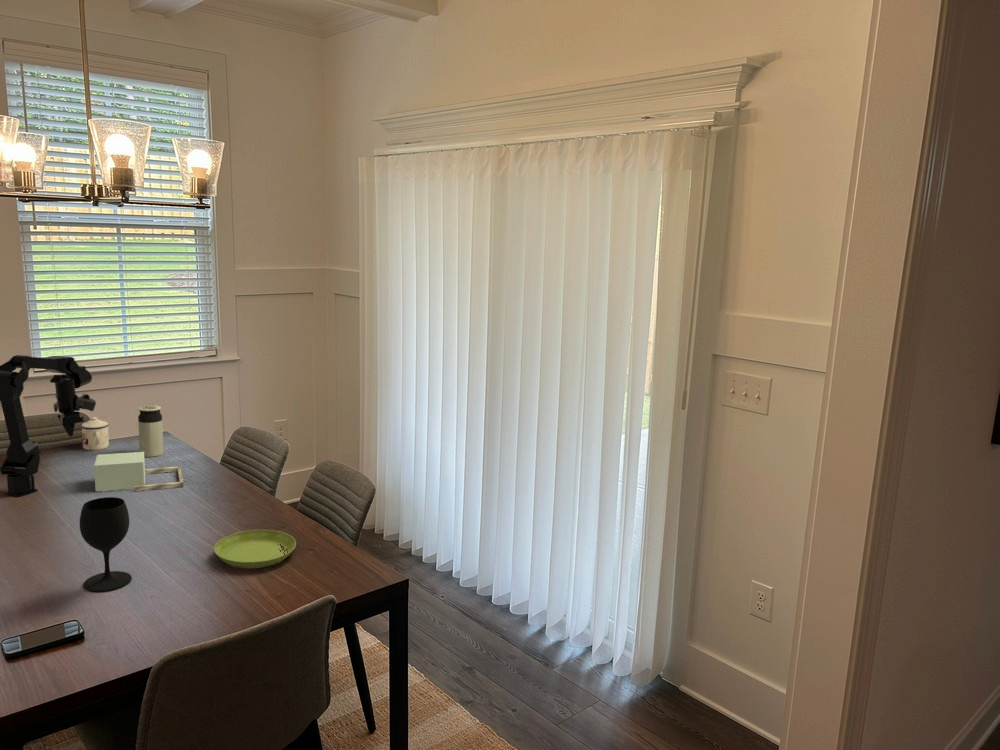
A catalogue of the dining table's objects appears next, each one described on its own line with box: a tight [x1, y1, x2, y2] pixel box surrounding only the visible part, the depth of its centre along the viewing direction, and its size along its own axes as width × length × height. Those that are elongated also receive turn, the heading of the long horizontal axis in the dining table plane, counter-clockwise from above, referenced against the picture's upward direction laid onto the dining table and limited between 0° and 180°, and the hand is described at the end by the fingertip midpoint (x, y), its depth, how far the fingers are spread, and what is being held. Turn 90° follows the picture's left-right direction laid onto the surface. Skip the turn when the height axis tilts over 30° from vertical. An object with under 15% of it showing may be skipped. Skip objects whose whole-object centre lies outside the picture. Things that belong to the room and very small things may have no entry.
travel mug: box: [137, 404, 164, 458], centre depth 273 cm, size 8×8×18 cm
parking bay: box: [133, 465, 184, 492], centre depth 248 cm, size 14×18×2 cm
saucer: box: [213, 529, 297, 569], centre depth 196 cm, size 21×21×3 cm
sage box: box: [93, 451, 146, 492], centre depth 242 cm, size 14×12×9 cm
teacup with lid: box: [80, 416, 110, 451], centre depth 278 cm, size 12×9×12 cm
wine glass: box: [79, 496, 133, 593], centre depth 175 cm, size 10×10×20 cm
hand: (70, 435), depth 253 cm, fingers closed
